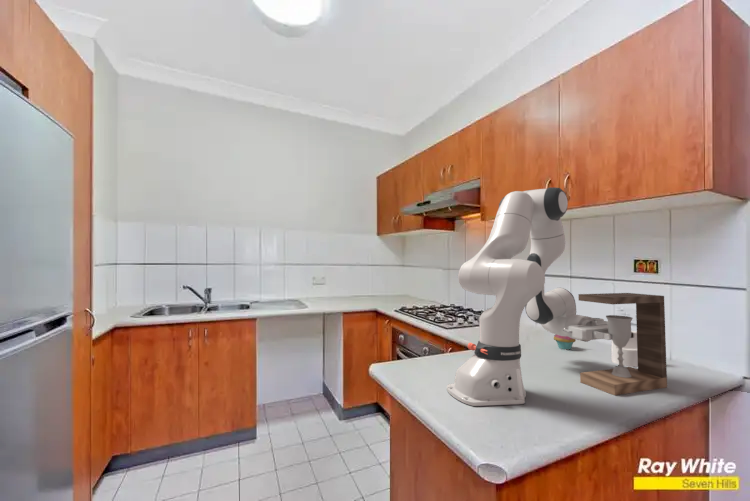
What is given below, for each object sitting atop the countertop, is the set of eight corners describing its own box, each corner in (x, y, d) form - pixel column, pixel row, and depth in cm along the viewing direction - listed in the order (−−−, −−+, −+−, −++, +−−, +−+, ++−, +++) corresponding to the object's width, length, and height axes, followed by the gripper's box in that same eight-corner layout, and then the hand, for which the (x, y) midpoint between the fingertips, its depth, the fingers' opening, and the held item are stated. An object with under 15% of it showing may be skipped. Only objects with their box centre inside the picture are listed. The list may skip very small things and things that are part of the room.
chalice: (640, 379, 99) (638, 319, 99) (615, 378, 100) (613, 318, 101) (626, 371, 106) (624, 315, 107) (603, 370, 107) (601, 315, 108)
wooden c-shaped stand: (614, 395, 94) (612, 297, 95) (580, 382, 105) (578, 294, 106) (667, 387, 101) (664, 295, 102) (629, 375, 111) (627, 292, 112)
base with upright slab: (630, 360, 130) (630, 329, 130) (647, 367, 121) (646, 334, 122) (606, 359, 131) (605, 329, 131) (621, 366, 122) (620, 333, 122)
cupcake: (570, 346, 151) (570, 320, 152) (579, 351, 143) (578, 323, 143) (550, 345, 152) (550, 319, 153) (558, 350, 144) (558, 323, 145)
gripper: (559, 320, 113) (597, 328, 100) (603, 318, 120) (644, 324, 106) (559, 339, 113) (597, 348, 100) (603, 335, 119) (644, 344, 106)
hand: (622, 336), depth 103 cm, fingers open, 8 cm apart
